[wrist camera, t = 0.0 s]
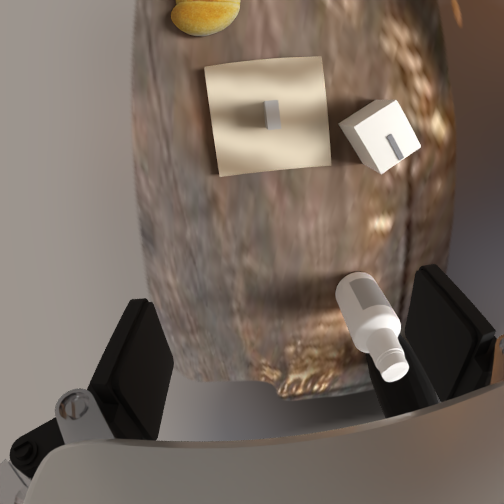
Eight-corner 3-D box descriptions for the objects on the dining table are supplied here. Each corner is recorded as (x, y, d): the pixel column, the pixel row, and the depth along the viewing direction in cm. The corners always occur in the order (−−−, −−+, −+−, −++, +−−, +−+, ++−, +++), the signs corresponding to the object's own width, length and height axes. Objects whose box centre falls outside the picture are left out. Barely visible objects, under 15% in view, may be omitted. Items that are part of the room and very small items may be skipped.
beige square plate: (205, 68, 33) (198, 61, 28) (318, 58, 32) (330, 50, 27) (220, 174, 39) (216, 185, 34) (328, 163, 39) (341, 172, 33)
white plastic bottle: (377, 298, 48) (421, 378, 32) (339, 312, 49) (371, 398, 33) (371, 264, 45) (422, 342, 29) (330, 279, 46) (365, 365, 30)
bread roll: (169, 36, 31) (160, 29, 27) (183, -21, 27) (176, -32, 23) (233, 41, 32) (231, 34, 28) (246, -17, 28) (245, -29, 24)
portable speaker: (357, 340, 52) (390, 429, 34) (403, 320, 50) (450, 401, 33) (365, 368, 55) (394, 449, 38) (407, 350, 54) (446, 426, 36)
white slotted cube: (337, 123, 36) (354, 127, 30) (375, 99, 35) (397, 99, 29) (362, 164, 39) (381, 174, 33) (398, 140, 37) (421, 147, 31)
